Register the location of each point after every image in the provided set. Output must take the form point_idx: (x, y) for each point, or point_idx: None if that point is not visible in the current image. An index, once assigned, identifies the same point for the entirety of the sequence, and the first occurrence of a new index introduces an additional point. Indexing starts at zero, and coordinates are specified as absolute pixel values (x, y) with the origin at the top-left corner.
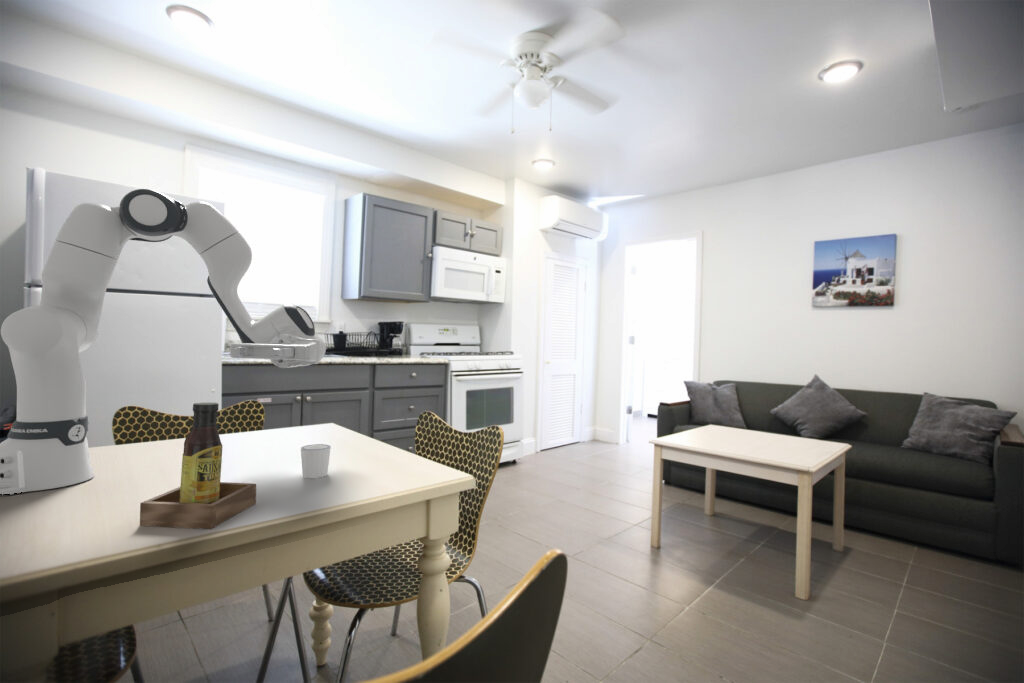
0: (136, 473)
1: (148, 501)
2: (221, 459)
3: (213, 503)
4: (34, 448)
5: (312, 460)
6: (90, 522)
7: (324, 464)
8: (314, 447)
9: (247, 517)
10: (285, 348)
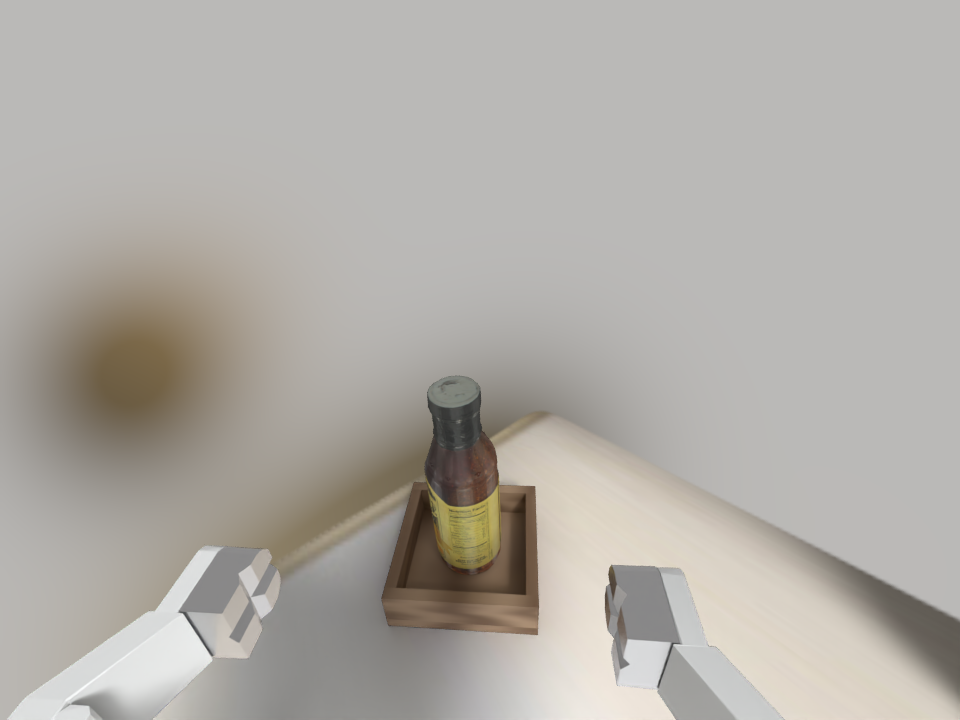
0: None
1: (528, 492)
2: (430, 500)
3: (417, 491)
4: None
5: None
6: (624, 520)
7: None
8: None
9: (380, 552)
10: (123, 642)
